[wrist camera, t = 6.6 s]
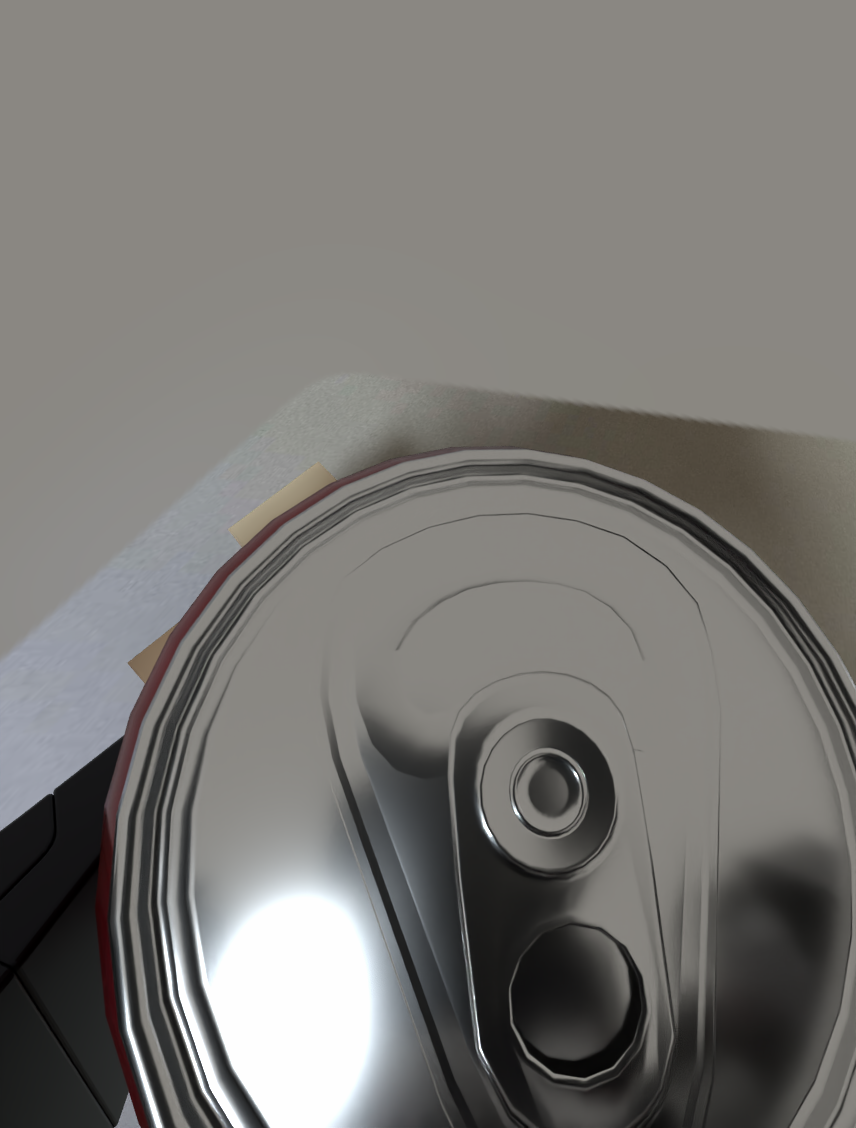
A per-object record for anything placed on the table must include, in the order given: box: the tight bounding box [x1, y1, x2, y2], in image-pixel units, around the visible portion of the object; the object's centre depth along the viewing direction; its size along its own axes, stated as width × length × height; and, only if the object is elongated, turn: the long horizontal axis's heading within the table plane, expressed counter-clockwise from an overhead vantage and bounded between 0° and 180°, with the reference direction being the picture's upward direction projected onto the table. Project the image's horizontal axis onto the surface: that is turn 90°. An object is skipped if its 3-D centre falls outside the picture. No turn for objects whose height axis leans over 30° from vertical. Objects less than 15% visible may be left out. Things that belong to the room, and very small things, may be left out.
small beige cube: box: [228, 462, 337, 547], centre depth 18 cm, size 4×4×4 cm
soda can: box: [95, 446, 856, 1128], centre depth 9 cm, size 7×7×12 cm
